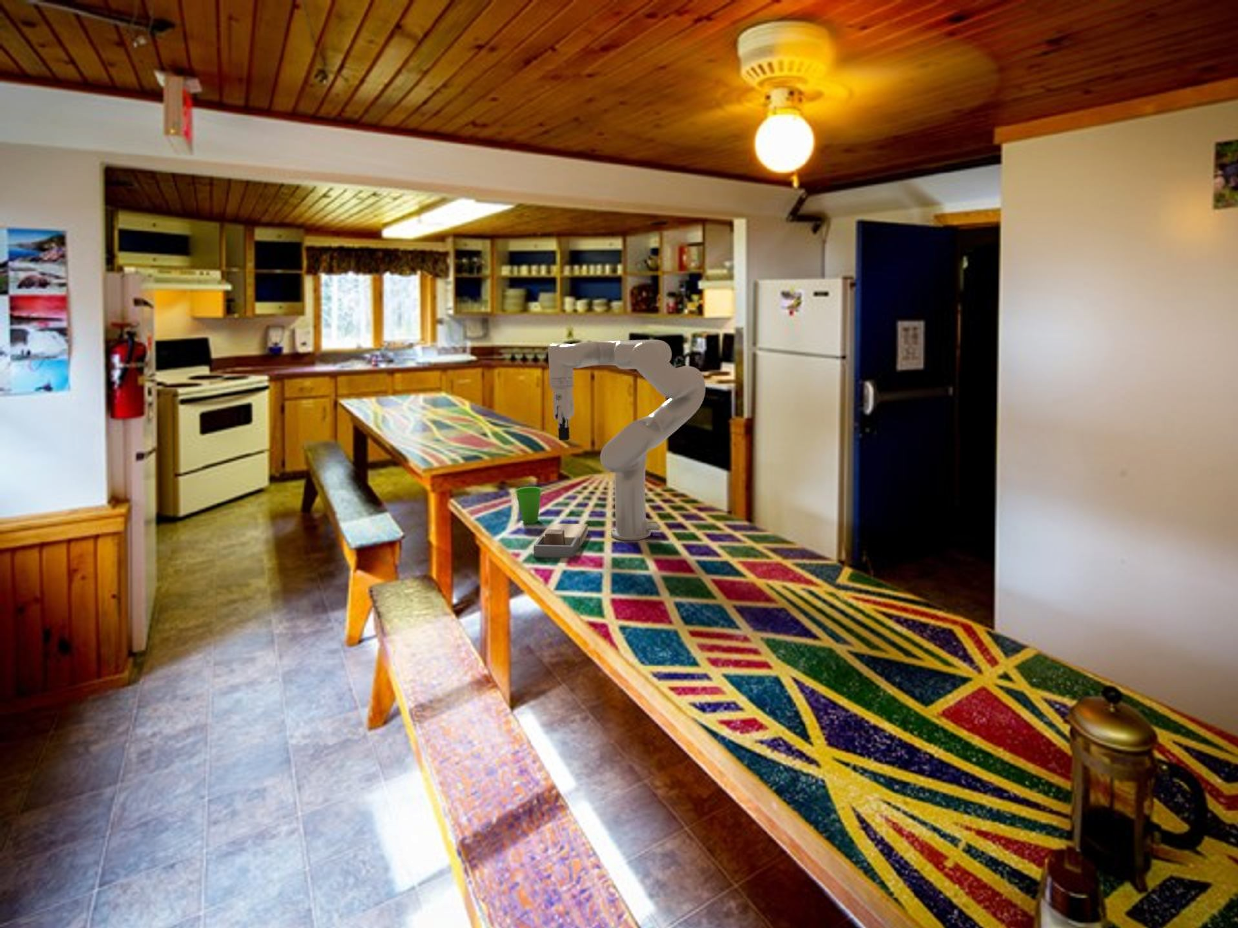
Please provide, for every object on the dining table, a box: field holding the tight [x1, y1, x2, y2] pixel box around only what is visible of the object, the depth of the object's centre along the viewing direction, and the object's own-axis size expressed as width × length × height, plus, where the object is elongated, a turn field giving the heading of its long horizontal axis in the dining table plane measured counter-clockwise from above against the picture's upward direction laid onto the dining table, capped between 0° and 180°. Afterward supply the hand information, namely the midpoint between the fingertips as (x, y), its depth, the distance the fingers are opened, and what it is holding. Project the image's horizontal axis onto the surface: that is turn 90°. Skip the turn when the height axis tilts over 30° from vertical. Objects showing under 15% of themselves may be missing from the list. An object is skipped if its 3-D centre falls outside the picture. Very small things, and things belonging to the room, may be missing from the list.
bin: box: [533, 534, 580, 559], centre depth 213 cm, size 12×9×4 cm
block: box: [545, 529, 565, 545], centre depth 215 cm, size 5×5×4 cm
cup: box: [514, 486, 543, 524], centre depth 243 cm, size 9×9×11 cm
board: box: [542, 523, 589, 548], centre depth 224 cm, size 12×13×3 cm
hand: (564, 439), depth 232 cm, fingers closed
